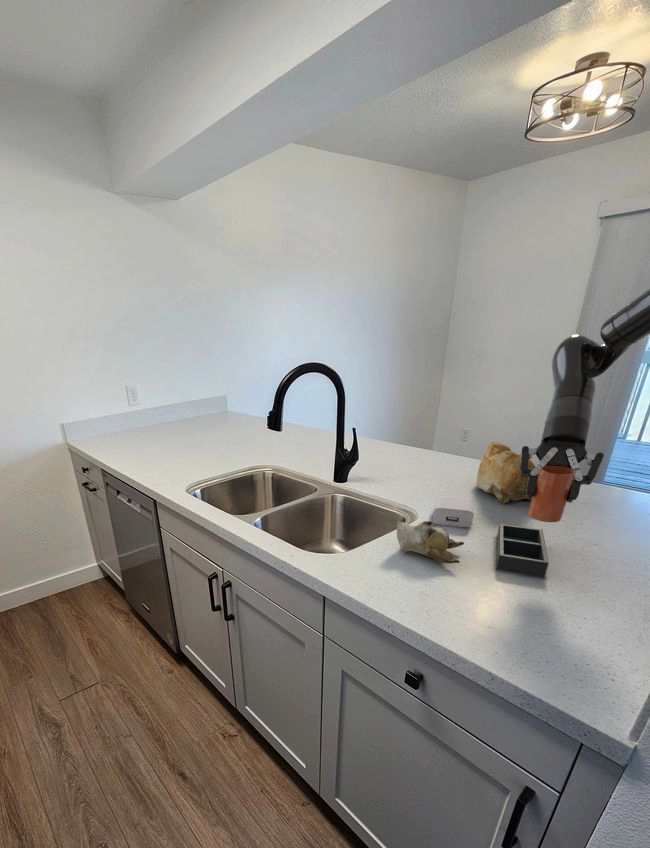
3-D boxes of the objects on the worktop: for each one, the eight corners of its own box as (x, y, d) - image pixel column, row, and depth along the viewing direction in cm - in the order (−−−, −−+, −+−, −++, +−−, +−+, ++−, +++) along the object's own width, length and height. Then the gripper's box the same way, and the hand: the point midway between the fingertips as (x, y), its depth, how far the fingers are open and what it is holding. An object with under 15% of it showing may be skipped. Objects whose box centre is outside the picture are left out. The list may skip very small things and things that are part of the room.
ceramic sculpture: (403, 506, 105) (470, 520, 99) (397, 537, 110) (461, 552, 103) (393, 524, 97) (465, 540, 91) (387, 557, 102) (456, 574, 95)
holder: (538, 542, 104) (542, 529, 103) (544, 577, 91) (548, 563, 89) (496, 536, 108) (499, 523, 106) (496, 569, 95) (499, 555, 93)
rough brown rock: (556, 515, 119) (576, 462, 112) (490, 508, 121) (507, 456, 115) (525, 487, 139) (540, 441, 133) (470, 482, 142) (482, 437, 135)
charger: (469, 506, 125) (470, 527, 113) (434, 503, 129) (432, 523, 117) (472, 491, 123) (473, 511, 111) (437, 488, 126) (435, 507, 114)
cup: (559, 513, 90) (573, 466, 86) (562, 524, 86) (577, 476, 81) (527, 509, 93) (539, 464, 88) (528, 519, 88) (541, 473, 84)
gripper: (528, 411, 90) (510, 484, 86) (616, 416, 83) (601, 495, 79) (523, 431, 96) (507, 500, 93) (605, 437, 89) (590, 511, 86)
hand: (550, 497), depth 86 cm, fingers closed on cup, 6 cm apart
